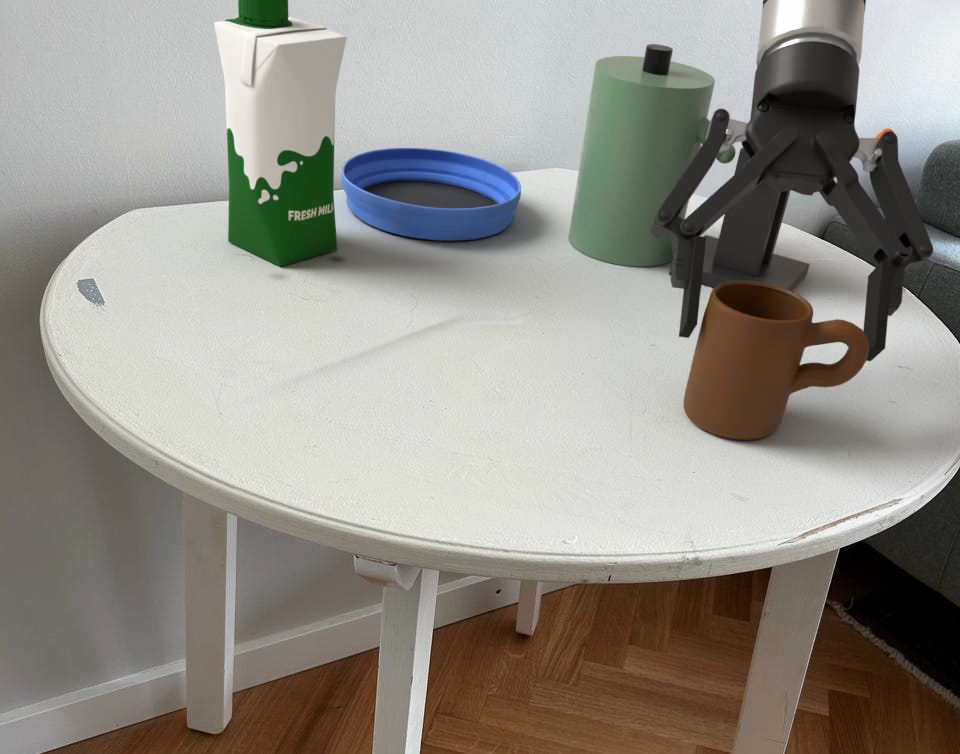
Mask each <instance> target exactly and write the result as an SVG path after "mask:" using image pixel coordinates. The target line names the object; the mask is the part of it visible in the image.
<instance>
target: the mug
mask: <svg viewBox="0 0 960 754" xmlns="http://www.w3.org/2000/svg"><path fill="white" fill-rule="evenodd" d="M813 318H814V309H813V306H812V305H811V303H810V302H809V301H808V300H807V299H806V298H805V297H803V296H801V295H800V294H798V293H796V292H795V291H790V290H787V289H785V288H782V287H779V286H775V285H771V284H767V283H762V282H755V281H729V282H724V283H721V284H719V285H717V286H716V287H715V288H712V290H711V291H710V295H709V298H708V302H707V304H706V307H705V310H704V312H703V316H702V321H701V324H700V328H699V332H698V335H697V340H696V344H695V348H694V352H693V357H692V359H691V360H692V361H691V364H690V365H691V366H690V369H689V373H688V378H687V382H686V386H685V390H684V396H683V410H684V413H685V415H686V416H687V418H688V419H689V420H690V421H691V422H692V423H693V424H694V425H695V426H697V427H698V428H700V429H701V430H703V431H705V432H708V433H709V434H712V435H716V436H718V437H720V438H721V437H722V438H725V439H730V440H736V441H737V440H738V441H752V440H759V439H763V438H766V437H769V436H771V435H772V434H773V433H774V432H775V431H777V429H778V428H779V426H780V425H781V423H782V420H783V418H784V415H785V412H786V409H787V405H788V403H789V399H790V396H791V395H792V394H794V393H796V392H799V391H802V390H804V389H808V388H810V387H812V388H813V387H815V388H832V387H837V386H840V385H843V384H846V383H848V382H849V381H851V380H852V379H853V378H854V377H856V376H857V375H858V373H859V372H860V371H861V370H862V369H863V367H864V365H865V364H866V362H867V361H866V360H867V357H868V353H869V344H868V339H867V337H866V335H865V334H864V332H863V328H861V327H859V326H858V325H856V324H855V323H853V322H850V321H848V320H845V319H837V318H836V319H832V320H831V319H830V320H824V321H818V322H813ZM835 343H842V344H844V345H846V346H847V350H846V352H845V354H844V355H843V356H842V357H841V358H840V359H839V360H838V361H836V362H833V363H823V362H805V363H802V364H801V362H802V358H803V356H804V352H805V349H806V348H808V347H813V346H820V345H826V344H827V345H828V344H835Z"/></svg>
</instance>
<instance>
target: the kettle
mask: <svg viewBox="0 0 960 754" xmlns="http://www.w3.org/2000/svg"><path fill="white" fill-rule="evenodd" d="M673 51H674V49H673V48H672V47H670V46H668V45H664V44H659V43H656V44H655V43H649V44H647V45H646V47H645V52H644V56H635V55H617V56H606V57H603V58H600V59H597V60H596V61H595V64H594V72H593V78H592V83H591V91H590V97H589V103H588V109H587V116H586V122H585V129H584V135H583V140H582V141H583V142H582V148H581V155H580V161H579V167H578V174H577V179H576V187H575V192H574V199H573V206H572V212H571V218H570V225H569V232H568V241H569V243H570V245H571V246H572V247H573V248H574V249H575V250H577V251H578V252H579V253H581V254H583V255H586V256H587V257H590V258H593V259H595V260H598V261H602V262H605V263H609V264H614V265H618V266H626V267H641V268H642V267H643V268H644V267H646V268H647V267H658V266H662V265H666V264H668V263H672V262H673V253H674V251H673V249H672V243H671V242H670V241H669V240H667V239H665V238H663V237H662V238H656V237H654V236H653V235H652V233H651V227H652V224H653V222H654V219H655V217H656V214H657V212H658V210H659V208H660V207H661V205H662V204H663V203H664V201H665V200H666V198H667V197H668V195H669V194H670V192H671V191H672V189H673V188H674V186H675V185H676V183H677V182H678V180H679V179H680V177H681V176H682V174H683V173H684V171H685V170H686V168H687V167H688V165H689V164H690V163H691V161H692V160H693V158H694V157H695V155H696V154H697V152H698V151H699V149H700V148H701V146H702V145H703V143H704V138H705V134H706V131H707V129H708V126H709V124H710V121H711V119H709V118H708V116H709V111H710V106H711V103H712V97H713V94H714V89H715V84H716V79H715V78H714V77H713V76H712V75H711V74H710V73H708V72H705V71H704V70H703V69H699V68H696V67H694V66H692V65H687V64H684V63H680V62H676V61H672V57H673ZM736 152H737V151H736V148H735V146H734V144H733V145H732V146H731V148H730V149H729V150H728V151H725V152H723V153H720V152H718V154H717V157H716V159H715V160H716V161H718V162H719V163H721V164H724V165H725V164H726V165H727V164H729V163H731V162H732V161H733V160H734V159H735V157H736ZM689 202H690V200H689V201H688V202H687V204H686V205H685V206H684V208H683V209H682V211H681V212H680V214H679V215H678V217H680V218H682V219H684V220H685V219H686V215H687V211H688V206H689Z"/></svg>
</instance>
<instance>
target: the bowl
mask: <svg viewBox="0 0 960 754" xmlns="http://www.w3.org/2000/svg"><path fill="white" fill-rule="evenodd" d="M340 181H341V184H342V189H343V191H344V193H345V195H346V205H347V207H348V209H349V210H350V212H351V213H352V214H353V215H354V216H355V217H356V218H358V220H360V221H362V222H364V223H365V224H368V225H369V226H371V227H374V228H376V229H378V230H381V231H383V232H388V233H392V234H395V235H399V236H404V237H409V238H415V239H420V240H430V241H447V242H450V241H451V242H452V241H453V242H454V241H469V240H470V241H471V240H477V239H482V238H486V237H490V236H494V235H496V234H499V233H501V232H502V231H504V230H505V229H506V228H507V227H509V225H510V224H511V223H512V221H513V216H514V213H515V211H516V210H517V208H518V206H519V202H520V200H521V197H522V185H521V182H520V181H519V179H518V178H517V177H516V175H515V174H513V173H512V172H511V171H510V170H508V169H506V168H505V167H503V166H501V165H499V164H497V163H494V162H492V161H489V160H486V159H484V158H481V157H478V156H474V155H470V154H465V153H461V152H456V151H451V150H445V149H444V150H443V149H436V148H425V147H389V148H379V149H374V150H368V151H364V152H361V153H358V154H356V155H354V156H352V157H350V158H349V159H347V160H346V161H345V162H344V164H343V166H342V168H341V177H340Z"/></svg>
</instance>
